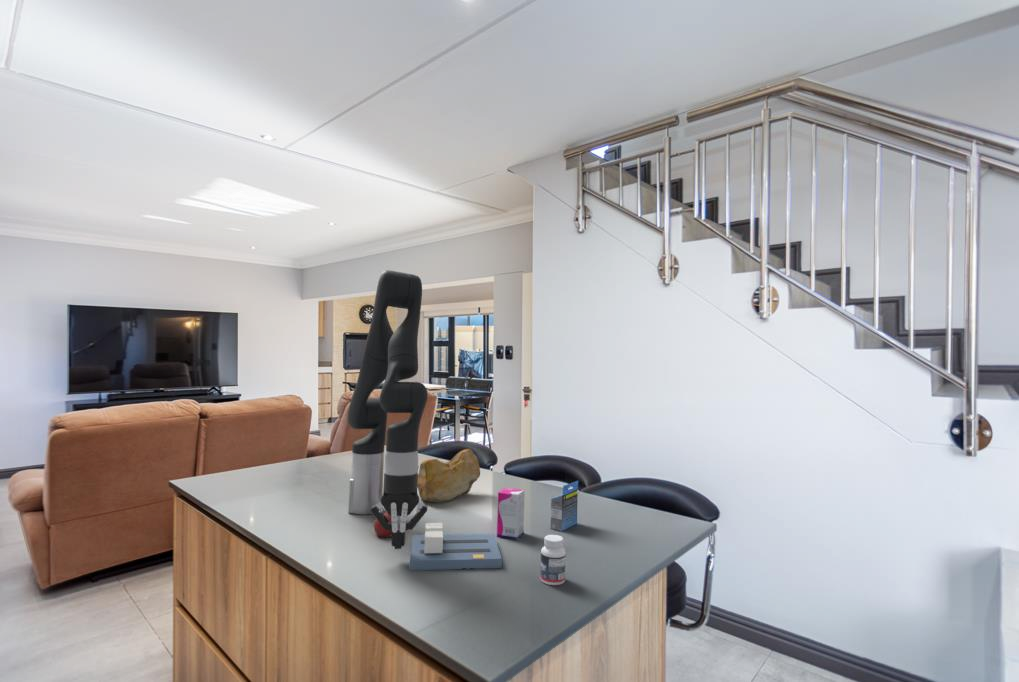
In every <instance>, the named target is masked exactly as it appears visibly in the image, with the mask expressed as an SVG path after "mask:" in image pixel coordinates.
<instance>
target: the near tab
mask: <svg viewBox="0 0 1019 682" xmlns="http://www.w3.org/2000/svg"><path fill="white" fill-rule="evenodd" d="M424 535H425V548H424V553H442V550H443V535H444V530H443V531H424Z"/></svg>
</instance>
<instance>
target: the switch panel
mask: <svg viewBox="0 0 1019 682" xmlns="http://www.w3.org/2000/svg"><path fill="white" fill-rule="evenodd" d="M411 541H412V542H411V550H410V558H409V571H429V570H430V571H431V570H432V571H433V570H437V571H438V570H439V571H440V570H463V569H462V568H466V569H467V570H469V569H470V568H474V569H475V568H476V569H502V562H503V561H502V555H501V552H500V549H499V546H498V543H497V540H496V537H495V534H494V533H466V534H465V533H463V534H462V533H461V534H459V533H458V534H443V550H442V553H424V548H425V534H413V535H412V540H411ZM466 569H465V570H466ZM474 569H473V570H474Z"/></svg>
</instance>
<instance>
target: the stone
mask: <svg viewBox="0 0 1019 682" xmlns="http://www.w3.org/2000/svg"><path fill="white" fill-rule="evenodd" d="M480 475H481V467H480V463H479V459H478V457H477V456H476V455H475V453H474V451H473V450H472V449H470V448H465V449H462V450H461V451H459V452H458V453H456V454H455V455H454V456H453V458H451V459H450V460H449V461H446V462H443V461H440V460H439V459H438V458H430V459H425V460H423V461H421V463H420V465H419V468H418V485H417V491H418V494H419V495H418V496H419V499H421V500H423V501H425V502H429V501H430V502H429V503H438V502H447V501H451V500H453V499H454V498H456V497H459V496H464V495H463V494H466V495H467V494H469V493H470V491H471V489H472V487H473V484H474V483H475V482H477V480H478V479H479V478H480V477H481V476H480Z"/></svg>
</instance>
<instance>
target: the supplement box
mask: <svg viewBox="0 0 1019 682" xmlns="http://www.w3.org/2000/svg"><path fill="white" fill-rule="evenodd" d="M525 493H526V492H525V489H520V488H519V489H517V488H509V487H508V488H507V487H505V488H503V489H502V490H500V491H498V492H497V519H496V520H497V521H496V522H497V523H496V526H497V527H496V537H497V538H503V537H504V538H503V539H510V538H511V540H518V539H519V538H521V536H522V535H523V534H524V533H525V529H524V528H525V525H524V523H525Z"/></svg>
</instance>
